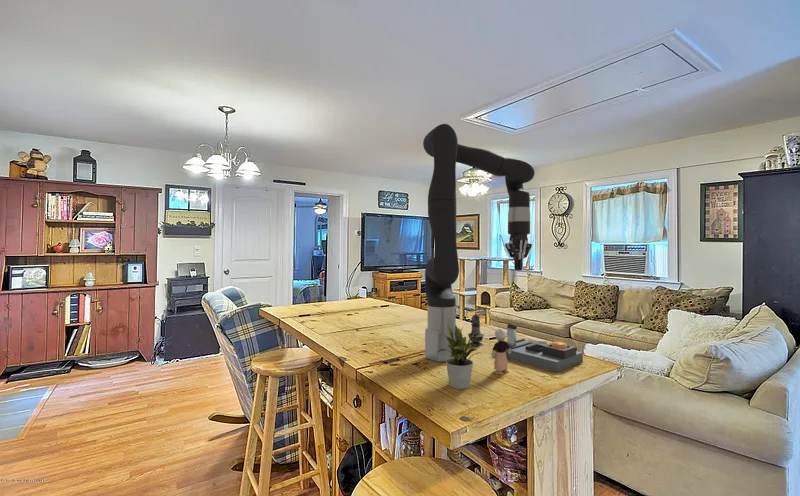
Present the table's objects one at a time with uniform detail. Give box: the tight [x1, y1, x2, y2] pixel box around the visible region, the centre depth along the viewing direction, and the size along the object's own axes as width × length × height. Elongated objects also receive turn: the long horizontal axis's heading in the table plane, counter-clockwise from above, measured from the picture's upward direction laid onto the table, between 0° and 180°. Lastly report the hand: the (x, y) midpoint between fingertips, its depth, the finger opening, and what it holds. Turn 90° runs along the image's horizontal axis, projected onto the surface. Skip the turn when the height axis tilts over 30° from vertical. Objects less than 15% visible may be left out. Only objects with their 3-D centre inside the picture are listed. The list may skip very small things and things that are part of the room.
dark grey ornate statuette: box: [467, 312, 485, 347], centre depth 140 cm, size 6×6×12 cm
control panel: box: [495, 338, 584, 373], centre depth 122 cm, size 16×22×6 cm
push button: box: [551, 341, 568, 349], centre depth 116 cm, size 4×4×3 cm
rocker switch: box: [527, 338, 548, 345], centre depth 122 cm, size 5×4×1 cm
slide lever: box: [506, 323, 518, 346], centre depth 126 cm, size 2×3×7 cm, turn 39°
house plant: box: [432, 324, 486, 390], centre depth 99 cm, size 14×14×16 cm
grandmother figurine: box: [490, 328, 511, 376], centre depth 108 cm, size 8×4×13 cm, turn 135°
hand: (518, 270), depth 131 cm, fingers closed
